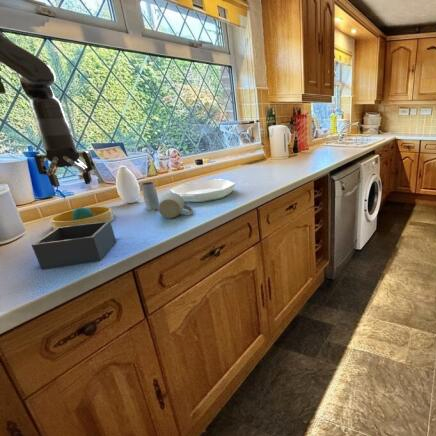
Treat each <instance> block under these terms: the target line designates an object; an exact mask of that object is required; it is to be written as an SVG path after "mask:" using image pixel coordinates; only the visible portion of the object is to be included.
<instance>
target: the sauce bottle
mask: <svg viewBox="0 0 436 436" xmlns="http://www.w3.org/2000/svg"><path fill="white" fill-rule="evenodd" d="M115 175H116V176H115V188H116V191H117V194H118V196H119V198H120V199H122V201H124V202H126V203H128V204H134V203H135V202H137V201H138V200H139V198H140V195H141V186H140V184H139V181H138V179H137V178H136V176H135V175H134V173H133V172H132V171H131V170H130V169H129V168H127V165H124V164H123V161H122V160H120V166H118V170H117V172H116V174H115Z"/></svg>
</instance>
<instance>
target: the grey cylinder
mask: <svg viewBox="0 0 436 436" xmlns="http://www.w3.org/2000/svg"><path fill="white" fill-rule="evenodd" d="M140 189H141V191H142V196H143V201H144V205H145V208H146V210H147V211H153V210H154V211H159V210H158V206H159V203H160V201H159V197H158V193H157V188H156V184H155V182H154V181H146V182H142V183H140Z"/></svg>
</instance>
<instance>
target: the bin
mask: <svg viewBox="0 0 436 436" xmlns="http://www.w3.org/2000/svg"><path fill="white" fill-rule="evenodd" d="M116 239H117V238H116V236H115V233H114V230H113V226H112V221H111V222H110V221H107V222H99V223H90V224H82V225H74V226H65V227H58V228H56V229H55V230H54V229H52V230H51V231H50V232H49V233H47V234H46V235H44V236H43V237H41V238H40V239H39V240H37V241H36V242H34V243H33V244H31V247H32V250H33V252H34V254H35V257H36V259H37V262H38V265H39V267H40V269H41V270H47V269H54V268H61V267H68V266H74V265H81V264H89V263H95V262H100V261H102V260H103V259H104V257H105V256H106V255H107V254H108V253H109V252H110V250H111V249H112V248H113V247H114V245H116V243H117V240H116Z"/></svg>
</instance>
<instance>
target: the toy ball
mask: <svg viewBox="0 0 436 436" xmlns="http://www.w3.org/2000/svg"><path fill="white" fill-rule="evenodd" d="M73 210H74V211H73V213H72V218H73V220H80V219H86V218H90V217H93V213H92V211H91V210H90V209H88V208H87V207H83V206H81V207H77V208H75V209H73Z"/></svg>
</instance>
